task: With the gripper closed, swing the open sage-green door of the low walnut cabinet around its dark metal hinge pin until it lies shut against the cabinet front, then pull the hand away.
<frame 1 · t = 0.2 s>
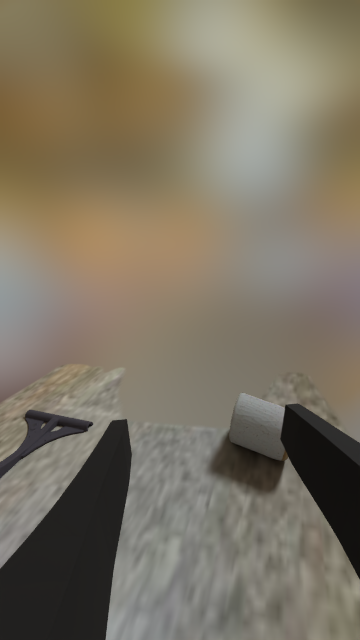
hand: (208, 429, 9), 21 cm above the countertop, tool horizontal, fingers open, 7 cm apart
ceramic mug: (259, 438, 34), on the countertop
bracket: (26, 454, 34), on the countertop
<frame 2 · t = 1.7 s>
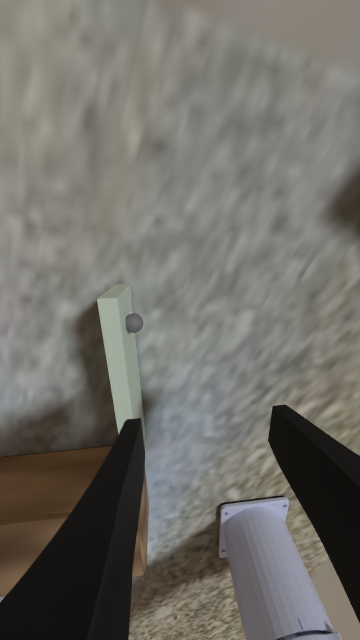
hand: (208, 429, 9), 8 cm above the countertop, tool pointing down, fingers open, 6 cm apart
door: (135, 386, 15), point 3 cm above the countertop, hinge at -90.0°
cabinet: (70, 484, 21), on the countertop
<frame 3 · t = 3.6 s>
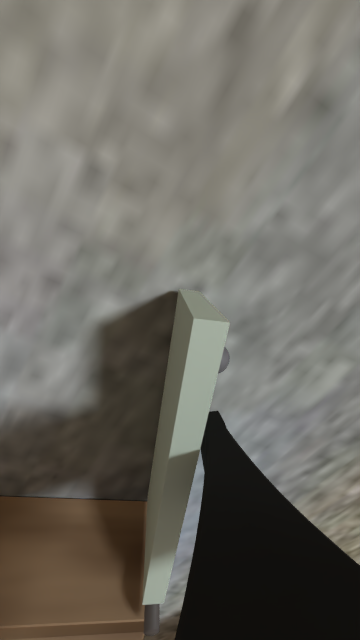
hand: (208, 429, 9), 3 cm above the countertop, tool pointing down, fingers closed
door: (181, 445, 10), point 3 cm above the countertop, hinge at -87.1°, touching gripper
cabinet: (38, 540, 15), on the countertop
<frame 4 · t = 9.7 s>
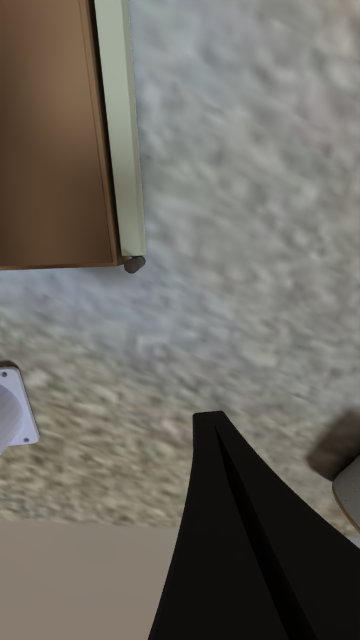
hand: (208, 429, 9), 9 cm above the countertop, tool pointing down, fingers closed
door: (133, 114, 11), point 3 cm above the countertop, hinge at -0.3°
cabinet: (44, 139, 13), on the countertop
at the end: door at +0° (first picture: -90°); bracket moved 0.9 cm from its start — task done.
